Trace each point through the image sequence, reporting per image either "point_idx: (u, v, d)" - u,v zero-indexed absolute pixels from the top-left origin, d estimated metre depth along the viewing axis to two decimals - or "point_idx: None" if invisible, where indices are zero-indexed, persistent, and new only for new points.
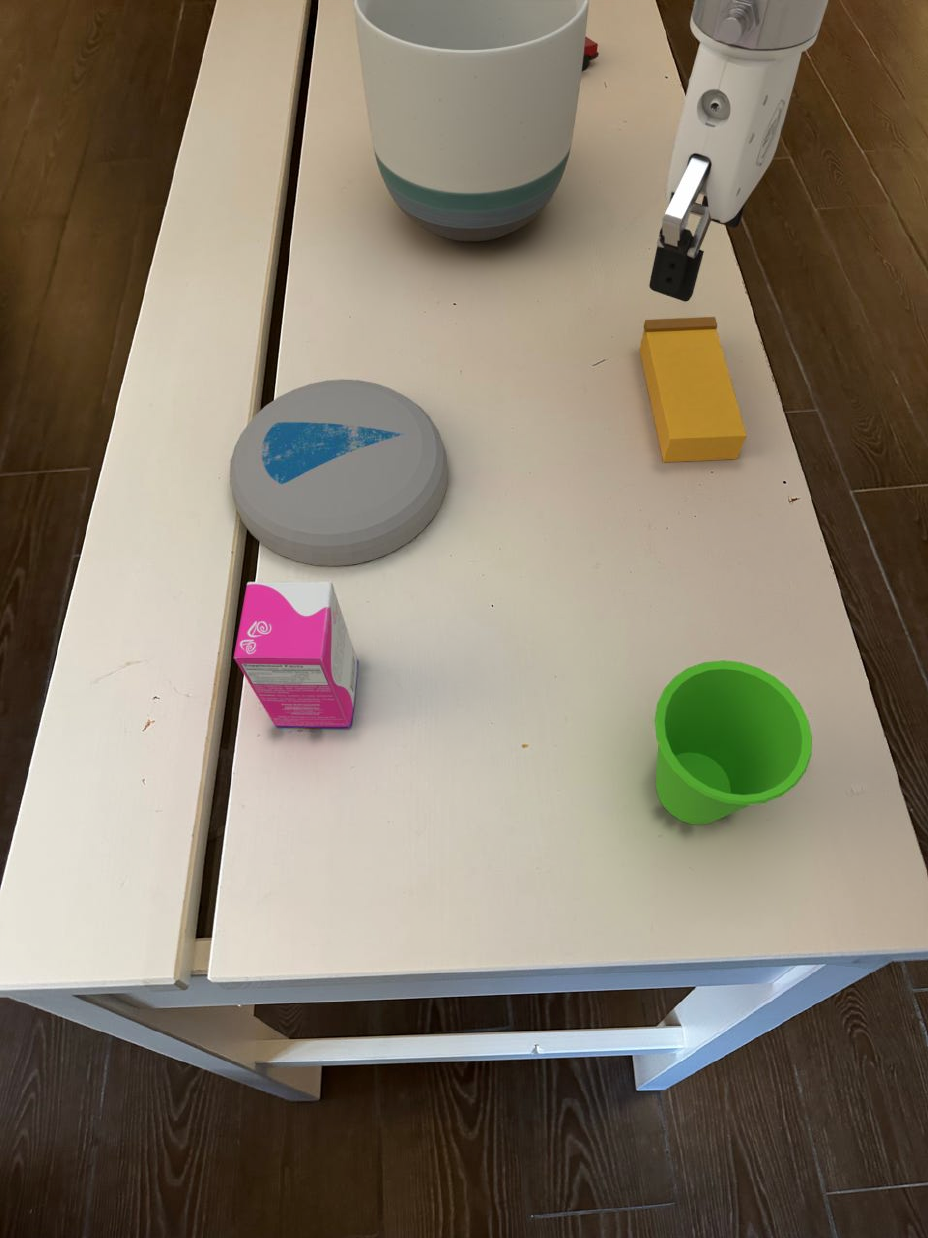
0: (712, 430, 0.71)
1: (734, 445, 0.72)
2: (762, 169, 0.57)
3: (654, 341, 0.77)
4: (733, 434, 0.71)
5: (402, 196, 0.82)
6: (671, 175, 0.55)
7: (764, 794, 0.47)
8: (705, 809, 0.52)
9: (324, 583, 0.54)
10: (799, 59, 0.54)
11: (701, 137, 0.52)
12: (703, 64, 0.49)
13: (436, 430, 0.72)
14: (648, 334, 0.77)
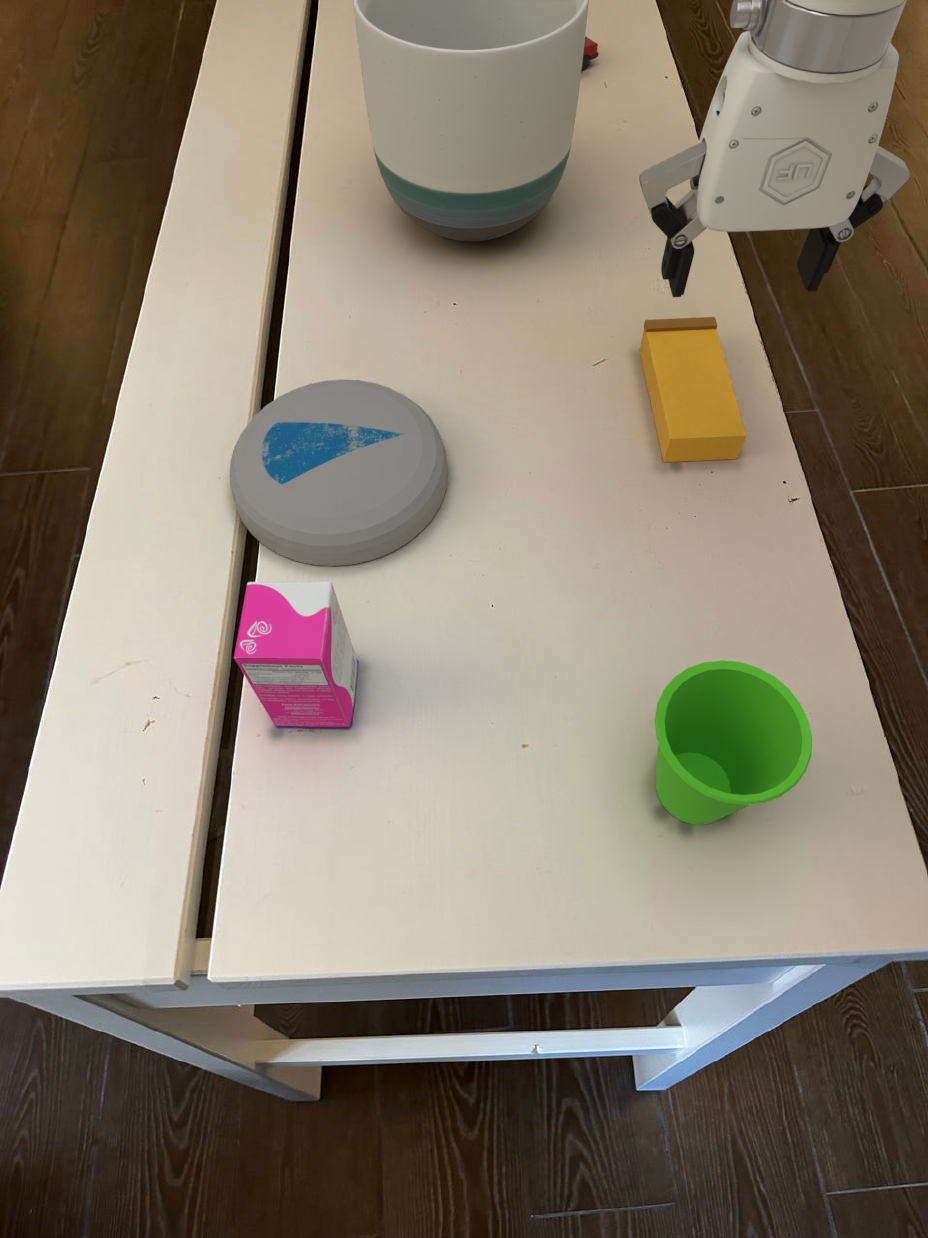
0: (712, 430, 0.71)
1: (734, 445, 0.72)
2: (794, 215, 0.54)
3: (654, 341, 0.77)
4: (733, 434, 0.71)
5: (402, 196, 0.82)
6: None
7: (764, 794, 0.47)
8: (705, 809, 0.52)
9: (324, 583, 0.54)
10: (868, 118, 0.49)
11: (709, 122, 0.51)
12: None
13: (436, 430, 0.72)
14: (648, 334, 0.77)
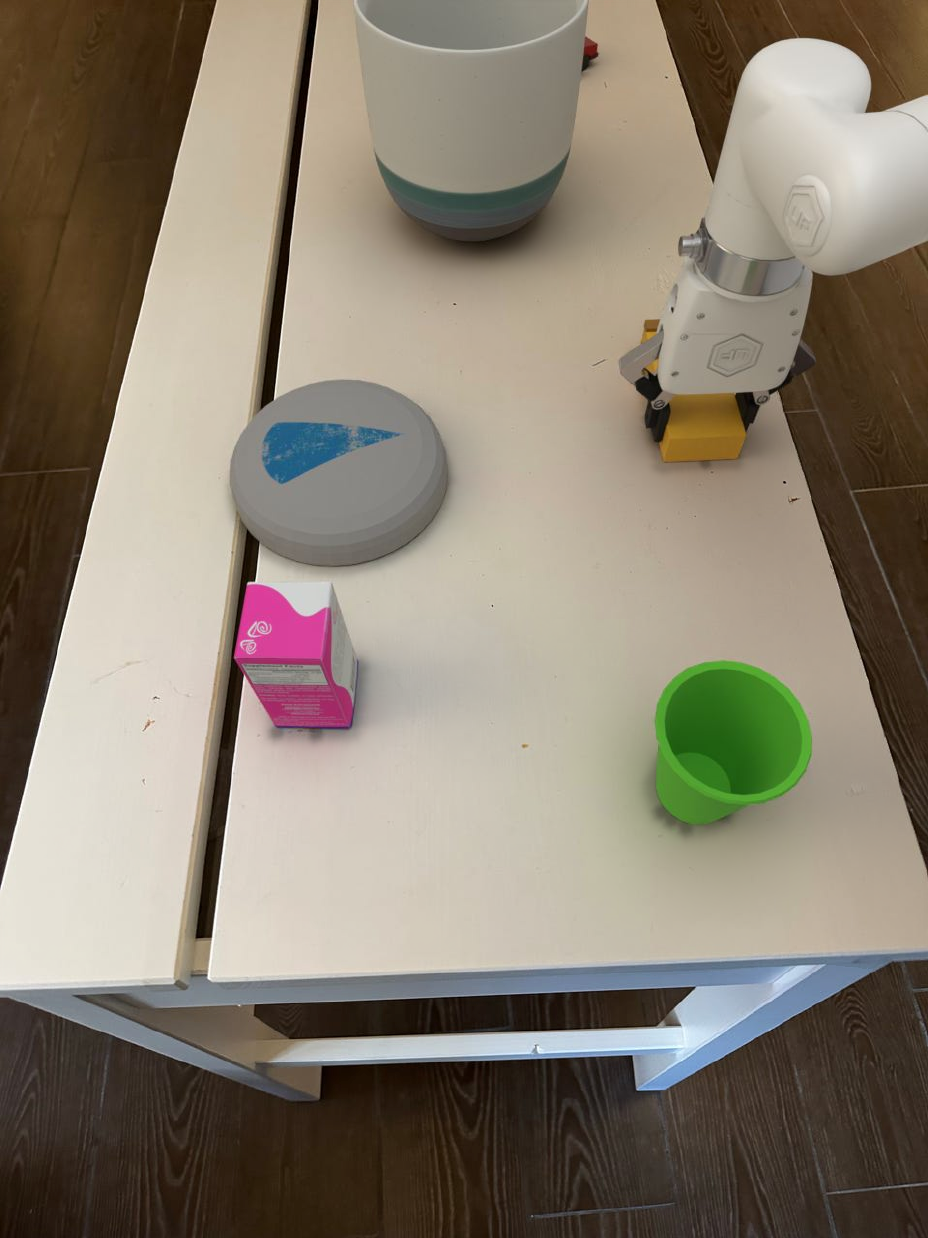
0: (712, 430, 0.71)
1: (734, 445, 0.72)
2: (736, 384, 0.66)
3: None
4: (733, 434, 0.71)
5: (402, 196, 0.82)
6: (656, 332, 0.67)
7: (764, 794, 0.47)
8: (705, 809, 0.52)
9: (324, 583, 0.54)
10: (790, 320, 0.61)
11: (665, 315, 0.64)
12: None
13: (436, 430, 0.72)
14: (648, 334, 0.77)
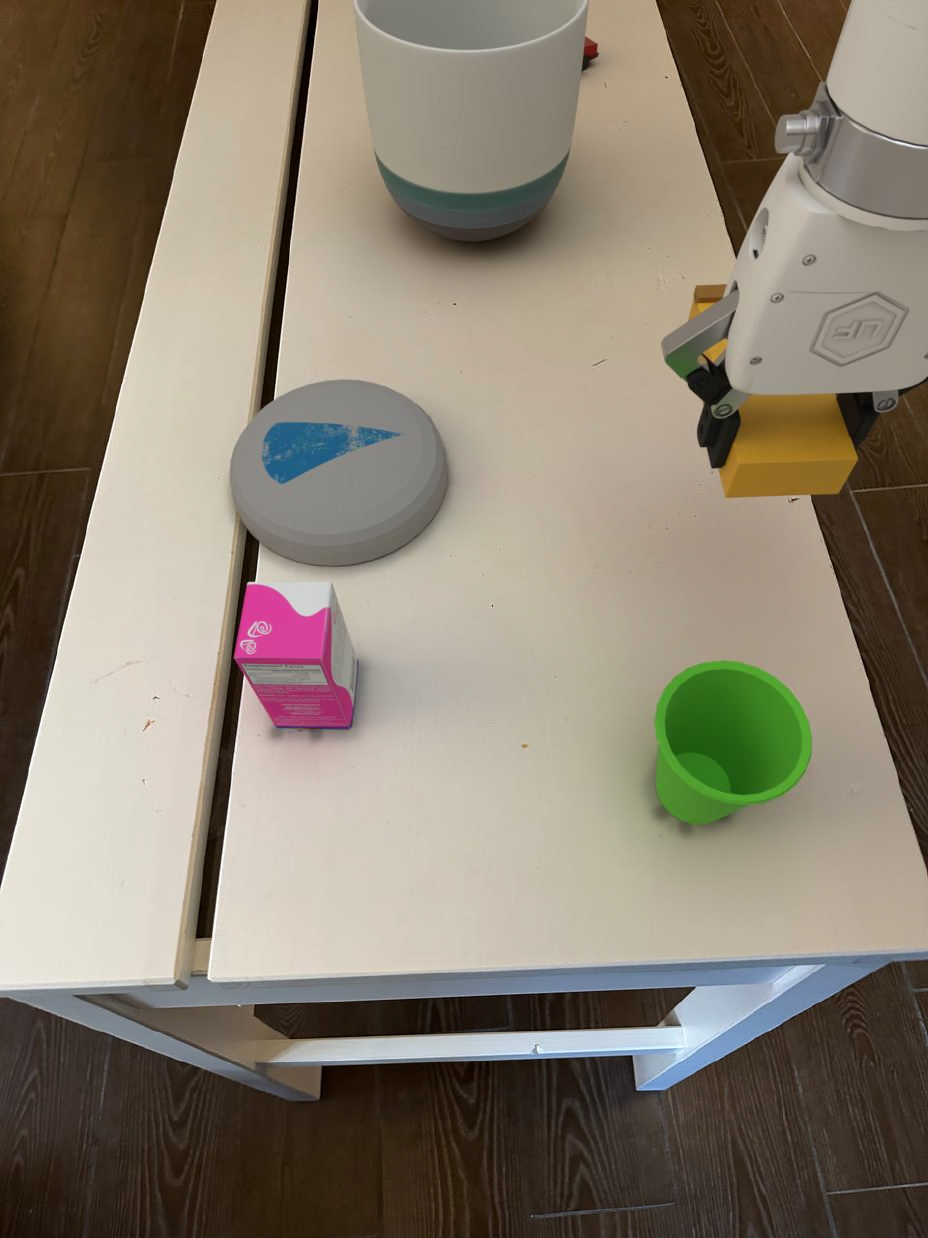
0: (804, 450, 0.46)
1: (837, 474, 0.47)
2: (854, 378, 0.41)
3: None
4: (837, 457, 0.46)
5: (402, 196, 0.82)
6: (723, 296, 0.42)
7: (764, 794, 0.47)
8: (705, 809, 0.52)
9: (324, 583, 0.54)
10: None
11: (743, 263, 0.39)
12: (777, 173, 0.36)
13: (436, 430, 0.72)
14: (701, 306, 0.52)
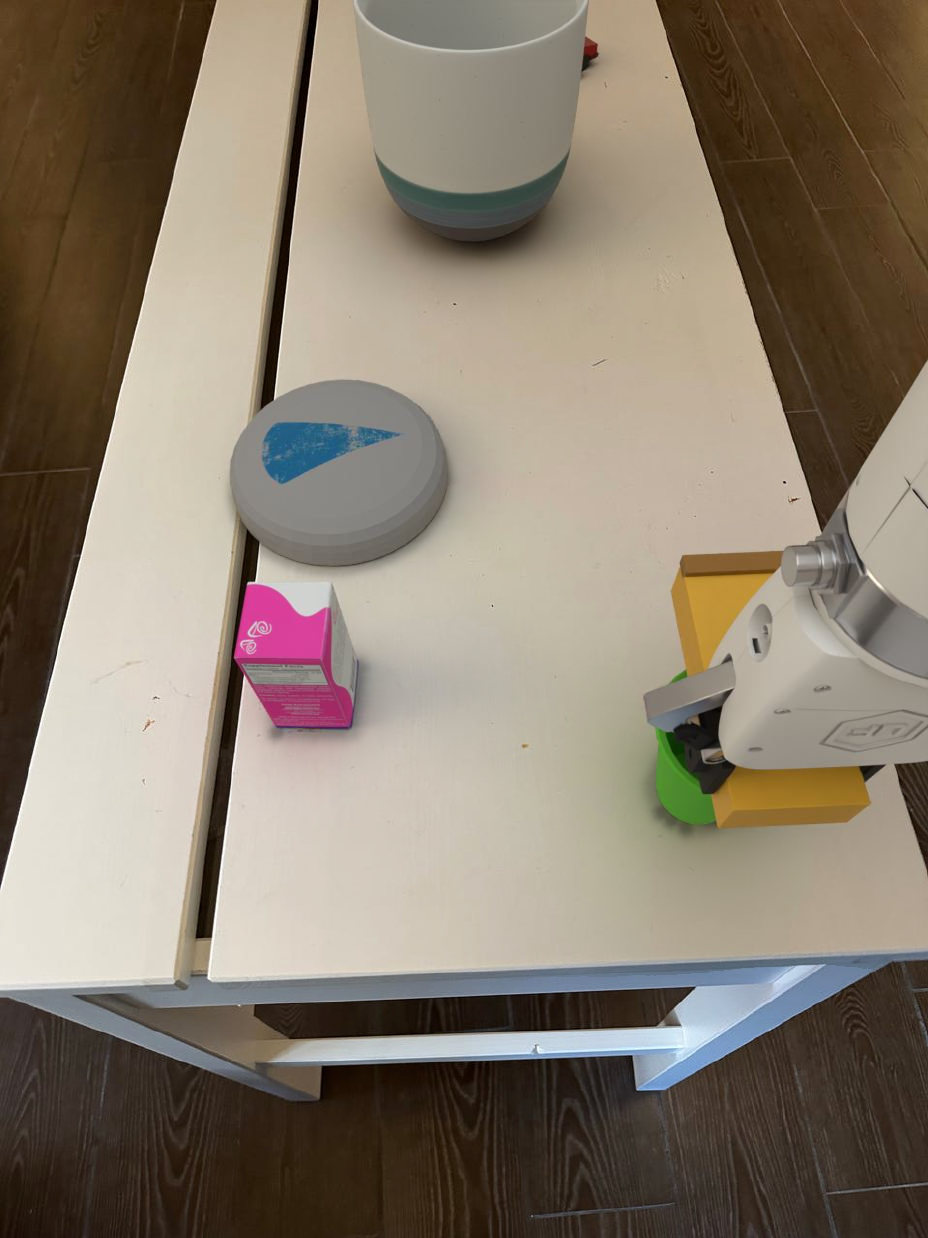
0: (809, 792, 0.40)
1: (846, 812, 0.40)
2: (870, 758, 0.34)
3: (698, 596, 0.45)
4: (847, 801, 0.39)
5: (402, 196, 0.82)
6: (715, 651, 0.35)
7: None
8: (705, 809, 0.52)
9: (324, 583, 0.54)
10: None
11: (740, 648, 0.32)
12: None
13: (436, 430, 0.72)
14: (689, 582, 0.46)
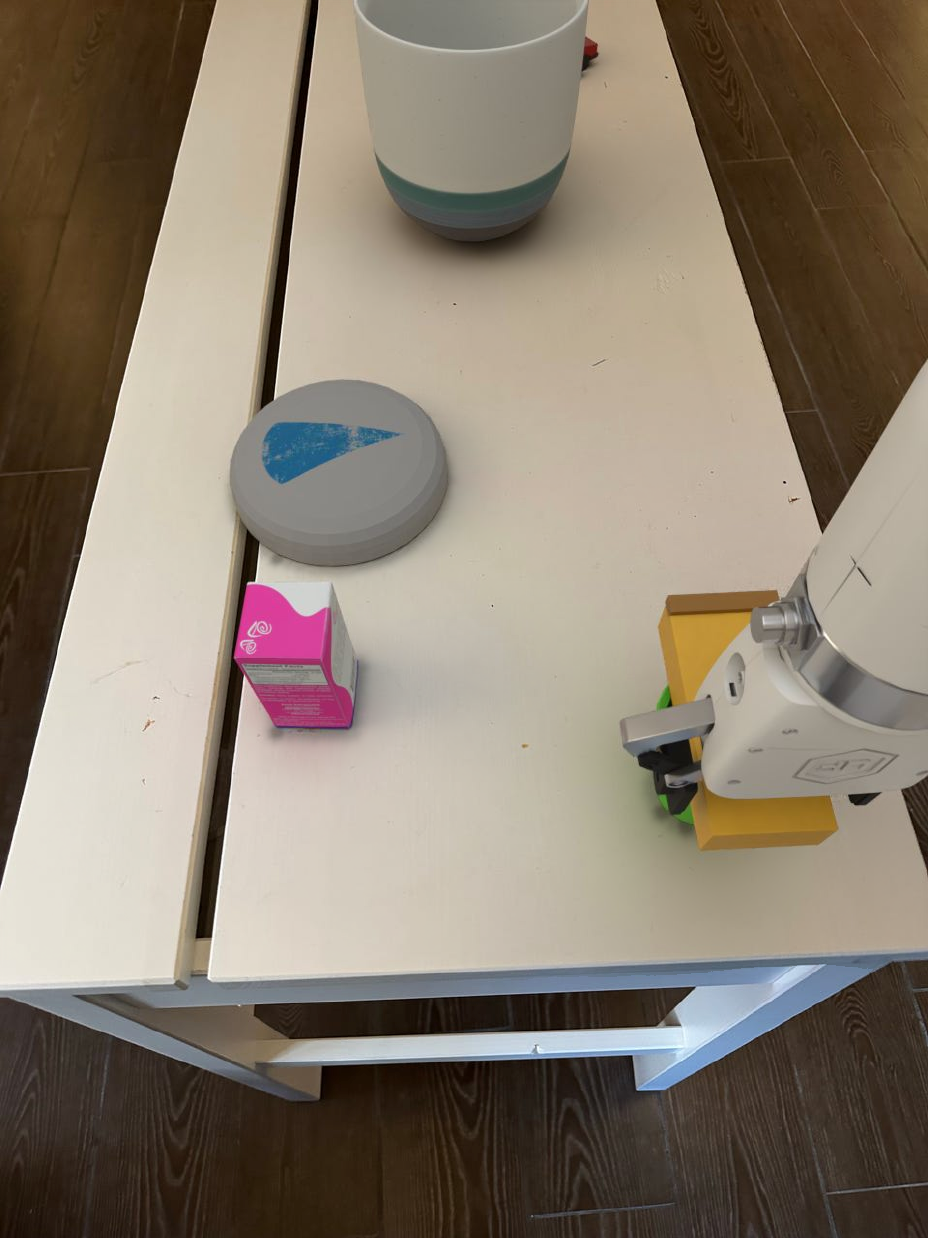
0: (782, 818, 0.43)
1: (817, 837, 0.44)
2: (840, 789, 0.38)
3: (682, 633, 0.49)
4: (816, 827, 0.43)
5: (402, 196, 0.82)
6: (698, 690, 0.39)
7: None
8: None
9: (324, 583, 0.54)
10: None
11: (718, 691, 0.35)
12: None
13: (436, 430, 0.72)
14: (674, 620, 0.49)
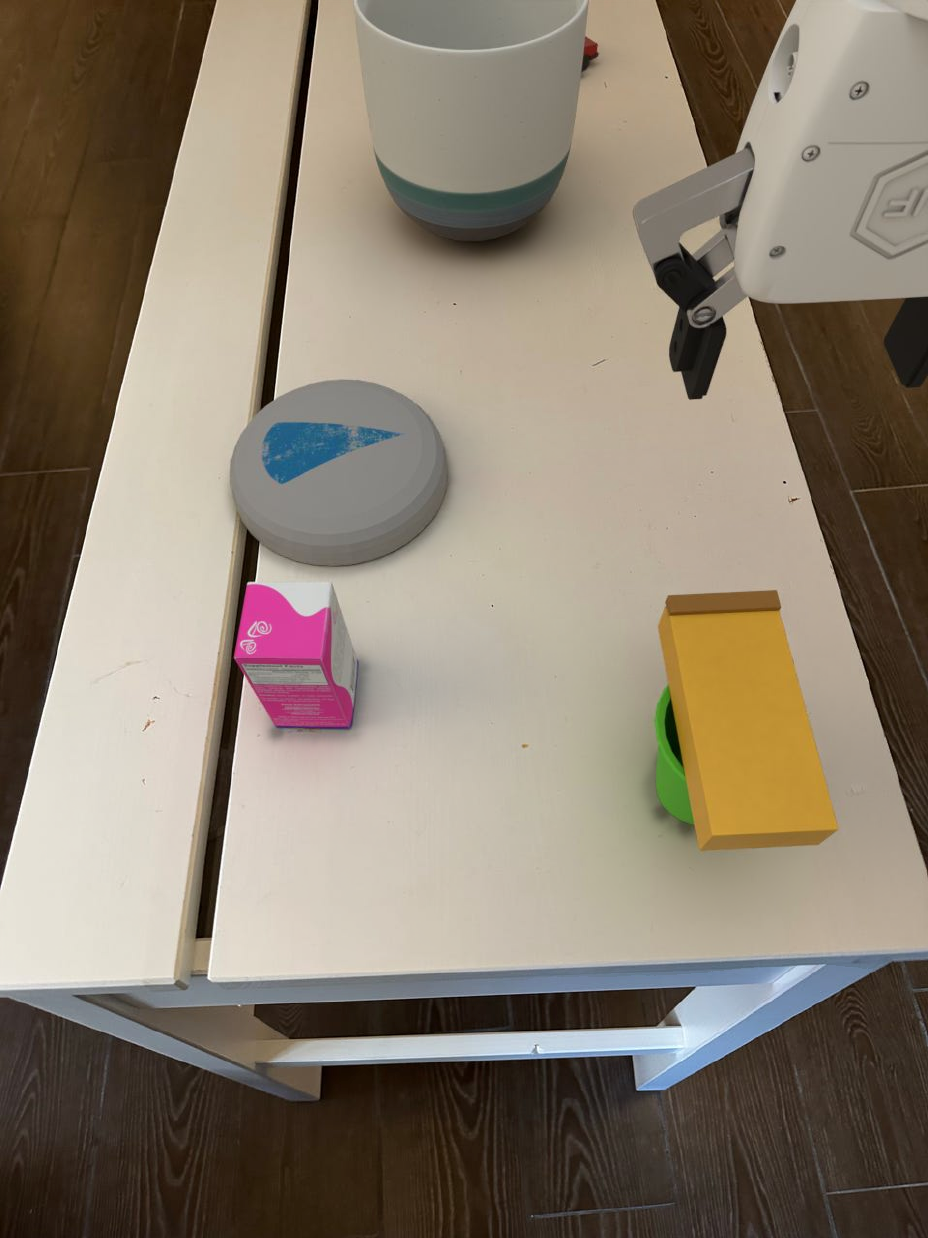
0: (782, 818, 0.43)
1: (817, 837, 0.44)
2: (905, 277, 0.31)
3: (682, 633, 0.49)
4: (816, 827, 0.43)
5: (402, 196, 0.82)
6: None
7: None
8: None
9: (324, 583, 0.54)
10: None
11: (760, 114, 0.28)
12: None
13: (436, 430, 0.72)
14: (674, 620, 0.49)
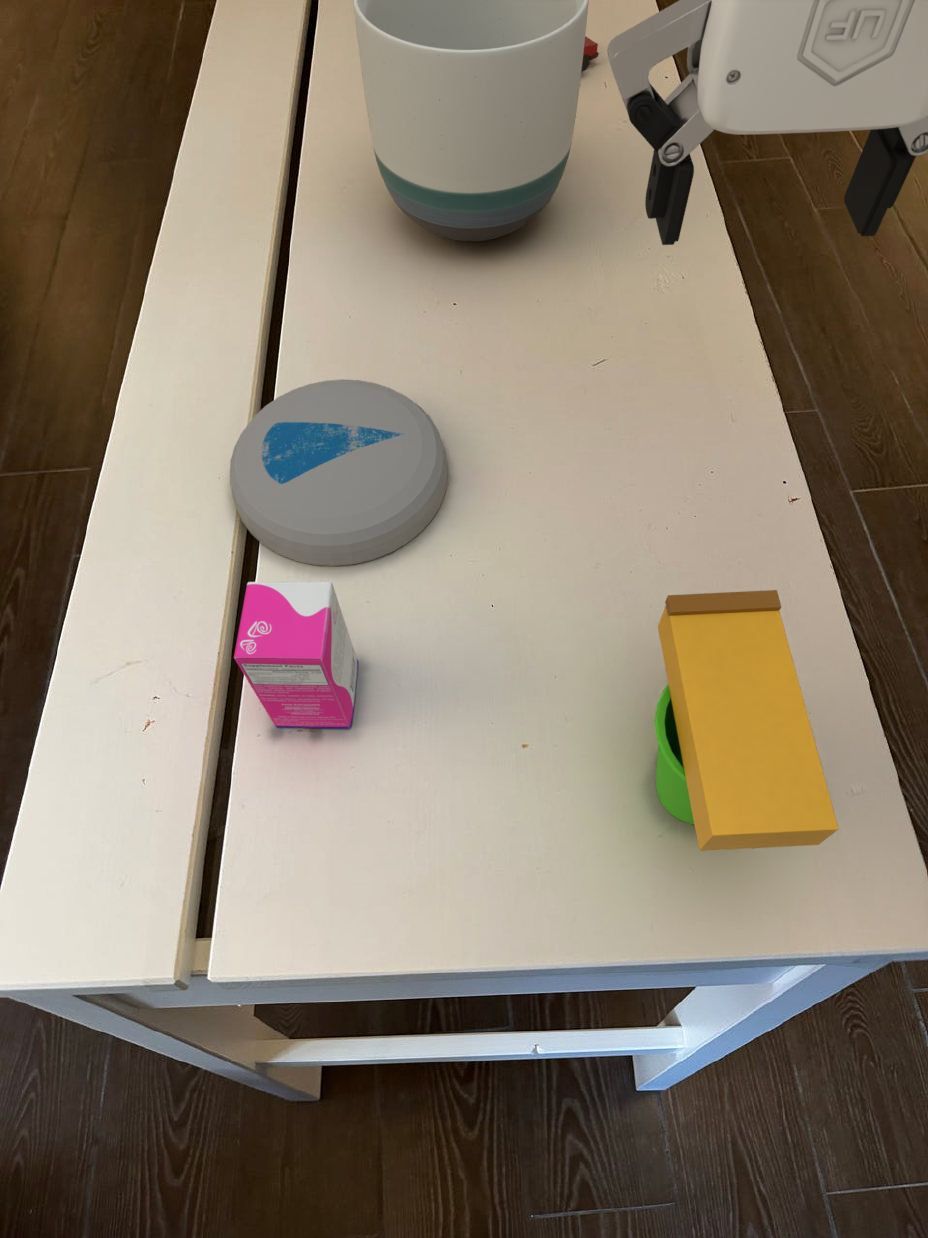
0: (782, 818, 0.43)
1: (817, 837, 0.44)
2: (850, 105, 0.34)
3: (682, 633, 0.49)
4: (816, 827, 0.43)
5: (402, 196, 0.82)
6: None
7: None
8: None
9: (324, 583, 0.54)
10: None
11: None
12: None
13: (436, 430, 0.72)
14: (674, 620, 0.49)
